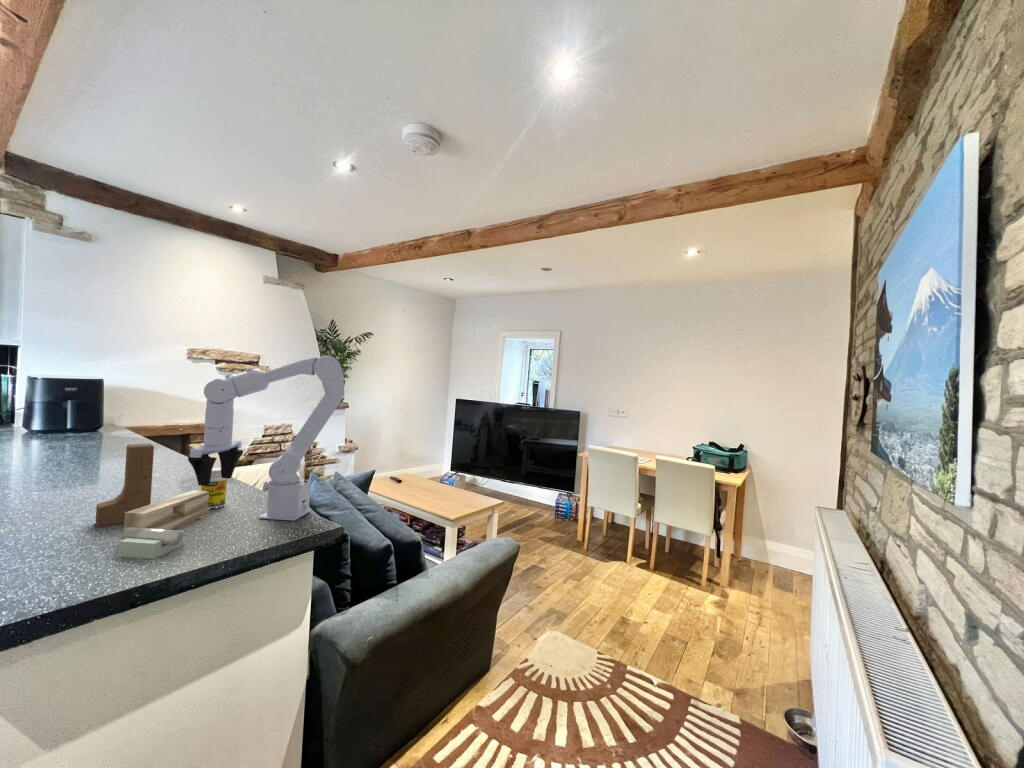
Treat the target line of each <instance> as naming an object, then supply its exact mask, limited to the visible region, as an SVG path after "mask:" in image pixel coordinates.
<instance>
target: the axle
mask: <svg viewBox="0 0 1024 768" xmlns="http://www.w3.org/2000/svg"><path fill="white" fill-rule="evenodd" d="M181 531H182V530H180V531H179V530H178V529H175V530H164V529H150V528H135V527H129V528H127V529H126V530H125V531H124V530H123V533H122V535H121V540H124V539H126V538H132V539H146V540H161V541H162V544H163V545H177V544H178V543H179V542H180V541H181V539H182V532H181Z"/></svg>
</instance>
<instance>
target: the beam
mask: <svg viewBox="0 0 1024 768" xmlns="http://www.w3.org/2000/svg"><path fill="white" fill-rule="evenodd" d="M208 500H209V491H201V490H191V491H187V492H185V493H180V494H179V495H176V496H172V497H169V498H167V499H163V500H160V501H157V502H153V503H150V505H147V506H144V507H141V508H138V509H135V510H131V511H128V512H125V521H124V523H123V532H124V531H125V530H126V529H127V528H129V527H135V528H150V529H165V530H174V529H175V530H178V529H179V528H182V527H184V526H186V524H187V525H189V524H190V523H189V522H191V523H193V522H192V521H194V520H196V519H199V518H201V517H203V516H206V515H209V514H208V513H209V509H208ZM206 517H207V516H206ZM203 518H204V517H203ZM201 519H202V518H201ZM199 520H200V519H199ZM196 521H197V520H196ZM194 522H195V521H194ZM188 523H189V524H188ZM183 525H184V526H183ZM181 526H182V527H181Z"/></svg>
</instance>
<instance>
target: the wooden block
mask: <svg viewBox="0 0 1024 768" xmlns="http://www.w3.org/2000/svg"><path fill="white" fill-rule="evenodd" d="M154 450H155V446H154V445H153V444H151V443H136V444H135V443H132V444H128V445H126V450H125V451H126V452H125V467H124V468H125V469H124V482H123V483H124V484H123V487H122V490H121V493H119V494H118V495H117V496H116V497H114V498H113V499H111V500H106V501H103V502H100V503H97V504H96V507H95V509H96V510H95V524H96V526H97V528H104V527H110V526H116V525H122V524H124V521H125V512H128V511H131V510H135V509H138V508H141V507H144V506H147V505H150V504H152V503H151V499H152V484H153V471H154V470H153V468H154V453H155V451H154Z"/></svg>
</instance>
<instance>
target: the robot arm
mask: <svg viewBox="0 0 1024 768" xmlns="http://www.w3.org/2000/svg"><path fill="white" fill-rule="evenodd" d="M299 375H308V376H315V375H316V376H317V377H318V379H319V380H320V381H321V384H322V389H323V391H324V394H323V396H322V398H321V399H320V401H319V402H318V404H317V405H316V407H315V408H314V409H313V411H312V412H311V414H310V415H309V417H308V418H307V420H306V421H305V423H304V424H303V425H302V427H301V429H300V430H299V431H298V433H297V434H296V435H295V437H294V439H293V440H292V442H291V443H290V445H289V446H288V447H287V449H286V450H285V451H284V452H283V453H282V454H280V455H278V457H276V459H275V461H273V462H272V464H271V465H270V466H269V468H268V476H269V478H270V479H269V480H268V485H267V487H268V489H267V504H266V506H267V507H266V512H265V513H262V514H261V515H258V519H261V520H262V519H264V520H266V519H267V520H277V521H291V522H292V521H296V520H298V519H300V518H301V517H303V516H305V515H306V514H309V513H310V512H311V509H310V499H311V497H310V496H311V487H310V484H309V483H308V482H307V483H306V482H303V481H301V477H299V475H298V474H297V473H298V471H299V470H300V467H301V463H302V459H303V458H304V456H305V455H306V454H307V452H308V451H309V449H310V447H311V446H312V445H313V443H314V442H315V440H316V439H317V437H318V436H319V434H320V433H321V431H323V429H324V427H325V425H327V424H326V423H327V422H328V421H329V419H330V418H331V417H332V415H333V413H334V412H335V410H336V408H337V407H338V406H339V404H340V403H341V402H342V401H343V398H344V397H345V384H344V383H345V380H344V371H343V368H342V366H341V364H340V362H339V360H338V359H337V358H336V357H334V356H332V355H322V356H320V357H311V358H305V359H301V360H297V361H295V362H291V363H287V364H284V365H282V366H278V367H276V368H272V369H269V370H266V371H264V370H262V369H260V368H254V369H253V367H249V368H247V369H245V371H244V372H240V373H237V374H234V375H231V374H227V375H225V376H224V377H225V379H221V378H214V379H213V380H211V381H208V382H207V383H206V385H205V386H204V388H203V395H204V397H205V398H206V407H205V411H204V412H205V415H204V416H205V417H204V433H203V443H200V444H199V446H197V447H194V448H190V450H189V451H190V453H189V456H188V457H187V461H188V462H189V463H190V465H191V467H192V469H193V471H194V473H195V476H196V480H197V481H196V482H197V484H198V486H200V487H201V486H208V485H209V483H210V479H211V472H212V468H214V466H215V463H216V461H217V459H218V458H217V457H215V456H214V457H211V456H210V455H214V454H218V457H219V461H220V463H219V464H220V468H221V477H222V478H227V479H232V477H233V474H234V472H235V468H236V466H237V463H238V461H239V460H240V459H241V457H242V456H243V454H244V450H243V449H241V448H242V440H233V431H234V430H233V429H234V428H233V427H234V426H233V424H234V411H235V410H234V405H235V404H234V402H235V401H234V400H235V398H236V397H237V398H241V397H246V396H249V395H252V394H255V393H258V392H262V391H265V390H267V388H268V387H269V385H270V384H271V383H274V382H277V381H282V380H284V379H288V378H292V377H296V376H299Z"/></svg>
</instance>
